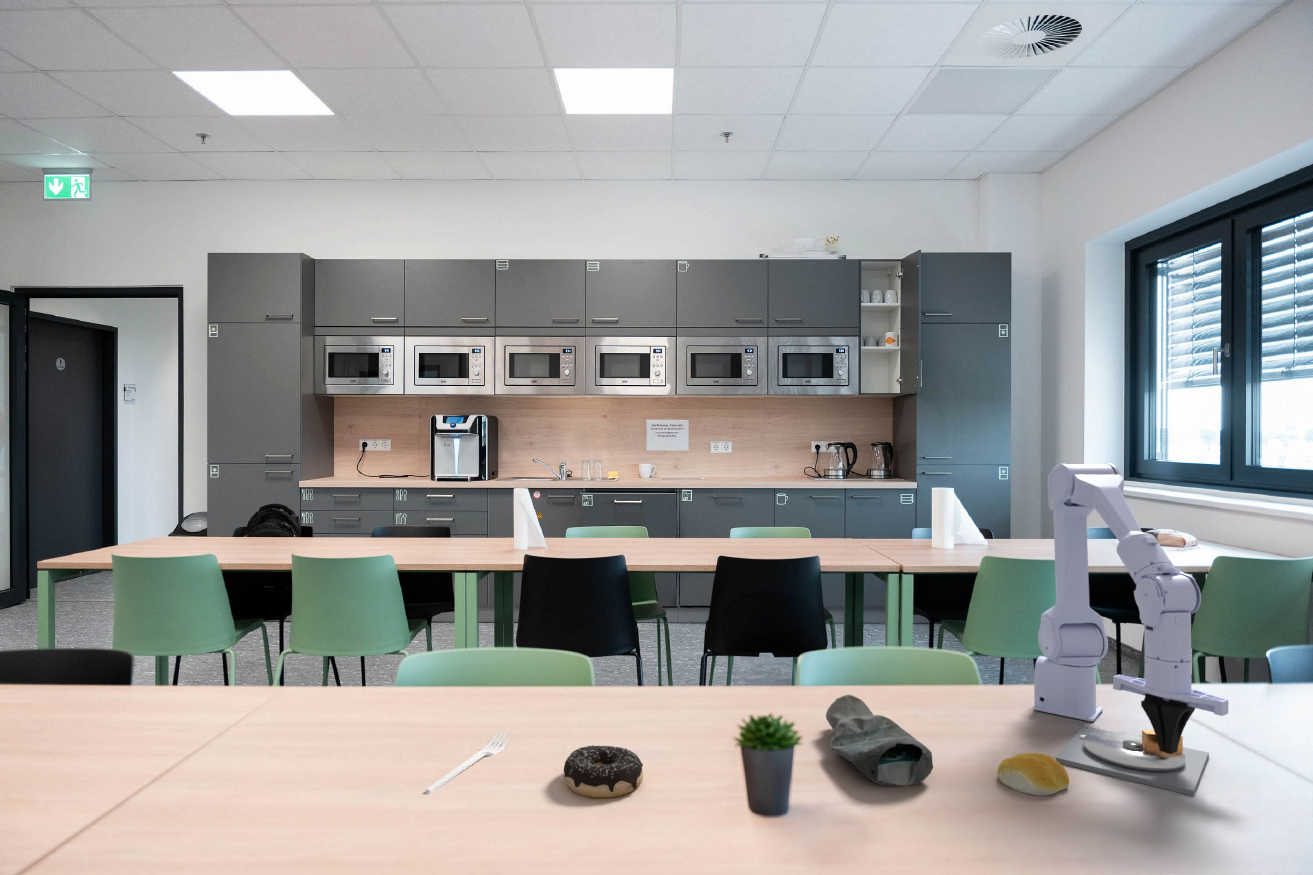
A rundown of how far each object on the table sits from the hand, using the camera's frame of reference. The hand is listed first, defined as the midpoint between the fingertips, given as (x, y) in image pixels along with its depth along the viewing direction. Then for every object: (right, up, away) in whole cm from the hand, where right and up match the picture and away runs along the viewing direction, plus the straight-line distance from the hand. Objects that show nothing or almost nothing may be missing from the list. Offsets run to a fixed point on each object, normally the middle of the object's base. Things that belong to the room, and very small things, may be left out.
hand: (1168, 750), depth 113 cm
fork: (-102, -3, +2) cm, 102 cm away
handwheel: (-3, -3, +3) cm, 5 cm away
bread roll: (-22, -3, -5) cm, 23 cm away
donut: (-82, -3, -4) cm, 82 cm away
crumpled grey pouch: (-42, -3, +5) cm, 43 cm away
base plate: (-3, -3, +3) cm, 5 cm away
